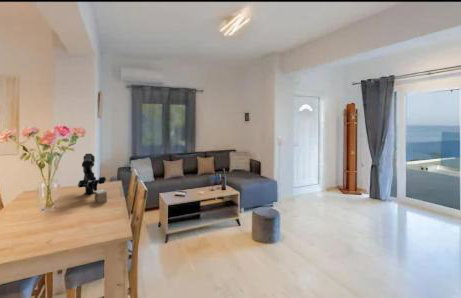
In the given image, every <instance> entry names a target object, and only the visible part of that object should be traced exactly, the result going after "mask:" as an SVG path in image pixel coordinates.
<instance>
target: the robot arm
mask: <svg viewBox="0 0 461 298" xmlns="http://www.w3.org/2000/svg"><path fill="white" fill-rule="evenodd" d="M95 159H96V158H95V155H94V154H93V153H85V155H83V161H82V162H81V167H82V169H83V170H82V172H83V174H84V175H83V179H81V180H79V181H78V183H77V186H78V188H84V189H85V190H84V191H85V192H83V194H85V195H87V196H88V195H93V194H94V195H95V192H94V191H98V184H100V185H102V184H104V183H105V182H106V180H107V179H106V177H105V176H100V177H99V178H98V179H97V177H96V176H95V173H94V172H93V167H94V166H95Z"/></svg>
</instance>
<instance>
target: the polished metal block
mask: <svg viewBox="0 0 461 298" xmlns="http://www.w3.org/2000/svg"><path fill="white" fill-rule="evenodd" d="M93 192H95V193H94V203H97V204H102V203H107V202H108V196H107V195H108V193H107V190H105V189H99V190H98V189H97V191H94V190H93Z"/></svg>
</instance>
